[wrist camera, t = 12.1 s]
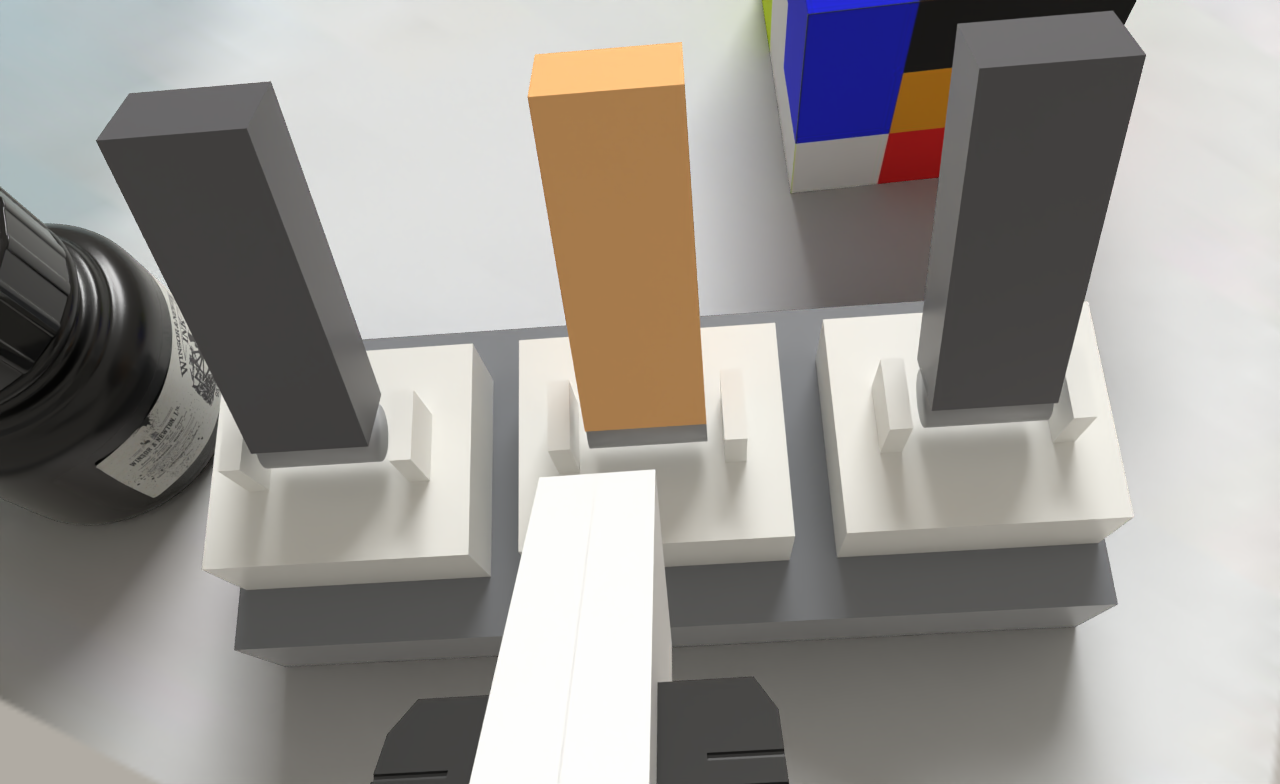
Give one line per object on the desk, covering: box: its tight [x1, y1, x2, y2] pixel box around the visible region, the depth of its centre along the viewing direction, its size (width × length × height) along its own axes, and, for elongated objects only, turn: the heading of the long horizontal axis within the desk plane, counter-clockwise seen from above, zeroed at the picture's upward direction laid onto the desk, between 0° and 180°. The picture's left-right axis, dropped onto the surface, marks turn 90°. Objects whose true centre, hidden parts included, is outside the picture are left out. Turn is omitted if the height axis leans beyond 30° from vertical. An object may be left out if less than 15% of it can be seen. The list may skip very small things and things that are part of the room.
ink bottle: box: [0, 187, 221, 525], centre depth 34 cm, size 10×9×12 cm
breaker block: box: [96, 11, 1146, 667], centre depth 29 cm, size 10×26×18 cm, turn 92°
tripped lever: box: [528, 42, 708, 449], centre depth 26 cm, size 2×3×11 cm, turn 92°
